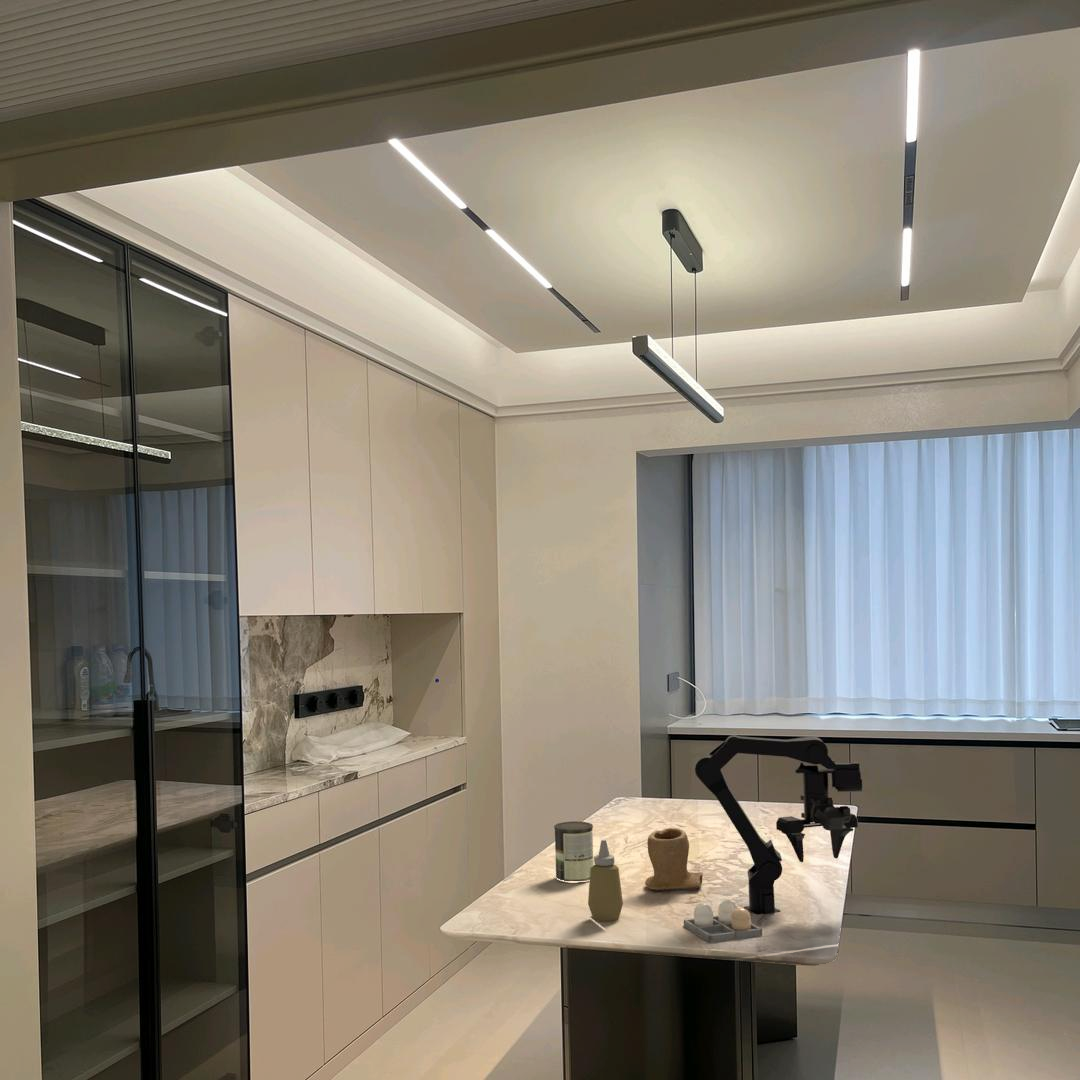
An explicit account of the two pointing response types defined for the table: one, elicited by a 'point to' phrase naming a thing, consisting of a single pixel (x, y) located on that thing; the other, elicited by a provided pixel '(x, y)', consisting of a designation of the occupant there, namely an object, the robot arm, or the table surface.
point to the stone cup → (670, 861)
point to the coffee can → (573, 850)
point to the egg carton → (721, 931)
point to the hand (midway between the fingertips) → (818, 860)
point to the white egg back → (703, 915)
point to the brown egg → (741, 919)
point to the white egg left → (726, 911)
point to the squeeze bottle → (605, 887)
